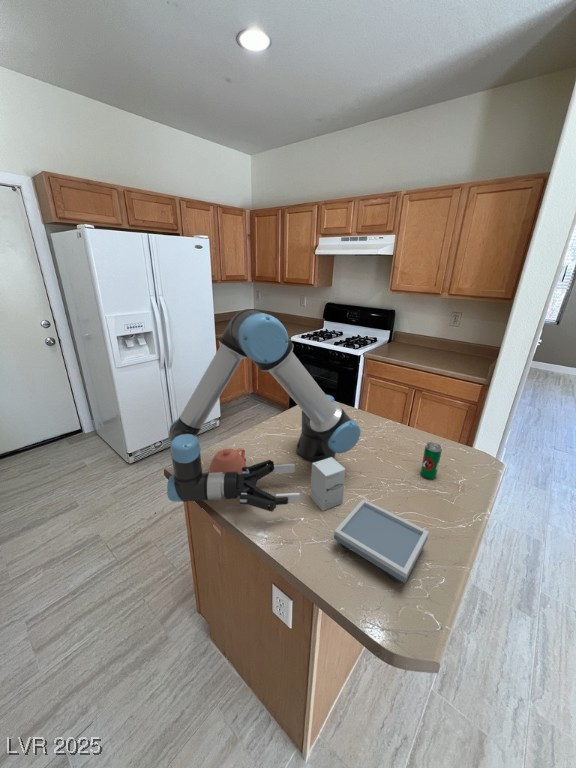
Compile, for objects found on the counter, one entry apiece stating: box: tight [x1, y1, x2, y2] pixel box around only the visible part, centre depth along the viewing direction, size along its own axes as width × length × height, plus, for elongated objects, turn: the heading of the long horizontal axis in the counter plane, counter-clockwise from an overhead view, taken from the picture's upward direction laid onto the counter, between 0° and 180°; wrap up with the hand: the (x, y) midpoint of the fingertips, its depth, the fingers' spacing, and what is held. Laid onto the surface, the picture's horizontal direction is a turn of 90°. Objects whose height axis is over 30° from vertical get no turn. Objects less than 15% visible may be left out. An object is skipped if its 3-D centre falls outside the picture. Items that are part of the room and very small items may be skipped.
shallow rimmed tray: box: [333, 498, 430, 584], centre depth 78 cm, size 18×15×6 cm
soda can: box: [419, 441, 443, 480], centre depth 105 cm, size 5×5×12 cm
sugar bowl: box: [208, 447, 247, 475], centre depth 105 cm, size 12×14×10 cm
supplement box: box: [309, 457, 346, 512], centre depth 93 cm, size 7×7×13 cm
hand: (297, 481), depth 92 cm, fingers open, 13 cm apart
